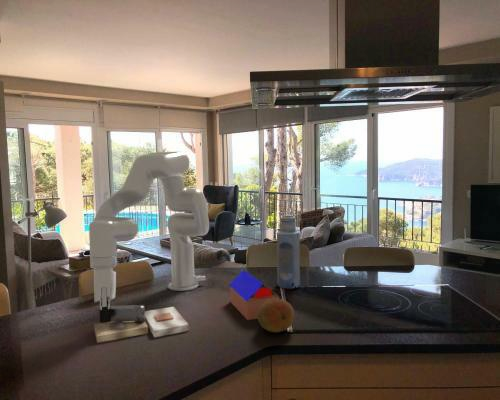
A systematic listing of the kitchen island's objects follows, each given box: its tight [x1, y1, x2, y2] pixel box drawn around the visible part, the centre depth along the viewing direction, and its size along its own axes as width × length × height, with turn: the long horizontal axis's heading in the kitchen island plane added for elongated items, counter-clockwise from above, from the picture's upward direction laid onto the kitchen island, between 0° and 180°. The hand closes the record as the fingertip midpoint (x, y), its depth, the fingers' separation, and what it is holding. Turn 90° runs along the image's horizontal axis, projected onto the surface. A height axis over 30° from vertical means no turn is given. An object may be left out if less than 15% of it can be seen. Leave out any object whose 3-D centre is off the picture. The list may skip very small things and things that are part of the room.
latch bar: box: [98, 304, 146, 323], centre depth 122 cm, size 14×3×5 cm, turn 92°
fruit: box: [257, 298, 295, 333], centre depth 119 cm, size 12×13×10 cm
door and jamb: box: [93, 306, 190, 344], centre depth 123 cm, size 26×18×2 cm
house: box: [229, 269, 280, 321], centre depth 139 cm, size 12×20×12 cm, turn 20°
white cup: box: [98, 270, 117, 302], centre depth 153 cm, size 8×8×10 cm
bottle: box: [276, 214, 301, 289], centre depth 165 cm, size 10×10×30 cm
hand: (105, 321), depth 118 cm, fingers closed
